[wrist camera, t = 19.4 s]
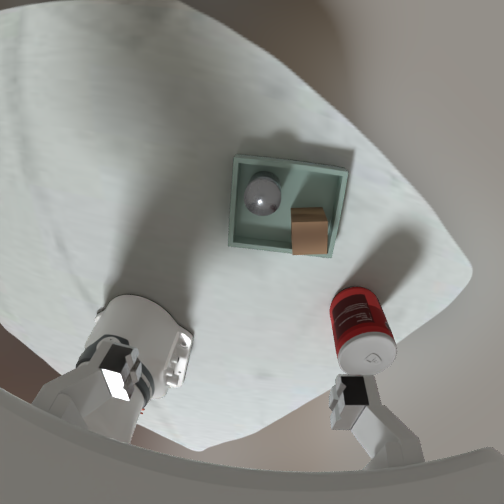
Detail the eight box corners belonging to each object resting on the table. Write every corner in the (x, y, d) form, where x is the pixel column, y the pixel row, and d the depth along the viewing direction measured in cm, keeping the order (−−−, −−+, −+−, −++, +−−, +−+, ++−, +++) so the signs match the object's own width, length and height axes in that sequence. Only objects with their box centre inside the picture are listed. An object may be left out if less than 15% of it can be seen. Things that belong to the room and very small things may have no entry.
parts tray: (328, 249, 40) (331, 258, 38) (230, 238, 41) (227, 246, 39) (344, 167, 35) (348, 171, 33) (236, 154, 36) (233, 157, 34)
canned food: (363, 330, 46) (377, 381, 36) (320, 318, 46) (327, 371, 36) (387, 293, 43) (409, 342, 33) (342, 278, 42) (356, 329, 33)
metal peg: (284, 199, 37) (284, 212, 33) (252, 205, 38) (248, 219, 34) (277, 167, 36) (276, 176, 31) (244, 174, 37) (239, 184, 32)
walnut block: (322, 236, 39) (327, 254, 35) (291, 237, 40) (292, 255, 35) (322, 207, 37) (328, 221, 33) (290, 207, 38) (291, 222, 33)
